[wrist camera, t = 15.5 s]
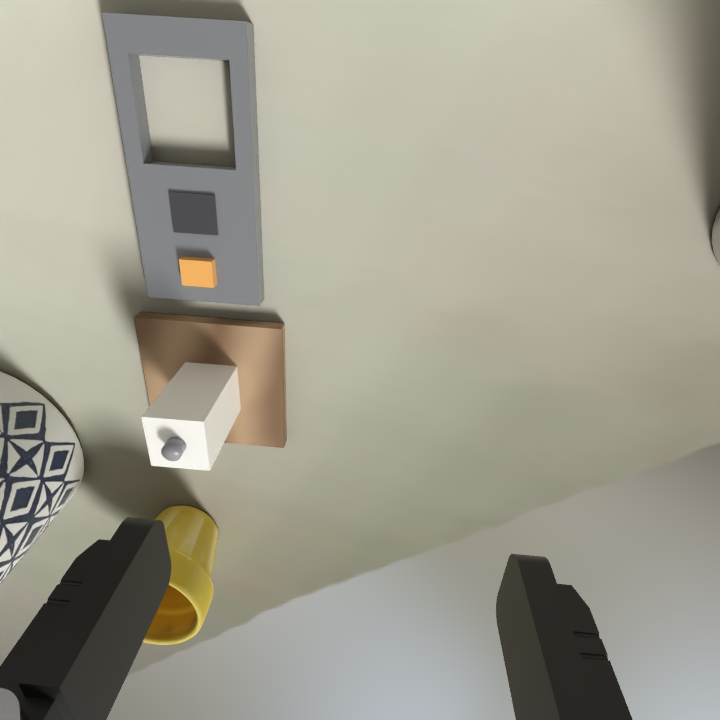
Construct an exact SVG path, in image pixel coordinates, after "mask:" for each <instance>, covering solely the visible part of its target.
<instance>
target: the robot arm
mask: <svg viewBox="0 0 720 720" xmlns="http://www.w3.org/2000/svg"><path fill="white" fill-rule="evenodd" d="M712 246H713V251H714V255H715V257H716V259H717V261H718V263H719V264H720V209H719V211H718V213H717V215H716V218H715V222H714V225H713V230H712ZM170 576H171V559H170V553H169V548H168V543H167V538H166V533H165V527H164V524H163V522H162V521H161V520H153V519H143V518H132V517H128V518H126V519H125V520H124V521H123V522H122V523H121V525H120V526H119V528H118V529H117V531H116V532H115V534H114V535H113V537H112V538H111V540H98V541H96V542H95V543H94V544H93V545H91V546H90V547H89V548H88V549H86V550H85V551H84V552H83V553H82V554H80V555H79V556H78V557H77V558H76V559H75V560H74V562H73V563H72V565H71V566H70V568H69V569H68V570H67V572H66V573H65V575H64V576H63V578H62V579H61V583H60V584H59V585H57V586H56V588H55V589H54V590H53V592H52V593H51V595H50V596H49V598H48V601H47V603H46V604H45V603H44V605H43V606H42V608H41V609H40V610H39V612H38V613H37V615H36V616H35V618H34V619H33V620H32V622H31V623H30V625H29V626H28V628H27V629H26V630H25V632H24V633H23V635H22V636H21V638H20V639H19V640H18V642H17V643H16V645H15V646H14V648H13V649H12V650H11V652H10V653H9V655H8V656H7V658H6V659H5V660H4V662H3V663H2V665H1V666H0V720H106V719H107V717H108V715H109V713H110V711H111V708H112V706H113V704H114V702H115V700H116V698H117V696H118V693H119V691H120V689H121V687H122V684H123V683H124V681H125V678H126V676H127V674H128V672H129V670H130V668H131V666H132V664H133V661H134V659H135V657H136V655H137V653H138V651H139V649H140V646H141V644H142V642H143V640H144V638H145V636H146V634H147V631H148V629H149V627H150V625H151V623H152V621H153V619H154V617H155V614H156V612H157V610H158V608H159V606H160V604H161V602H162V599H163V597H164V595H165V593H166V591H167V588H168V585H169V581H170ZM496 617H497V625H498V631H499V635H500V641H501V645H502V651H503V656H504V661H505V666H506V671H507V676H508V682H509V687H510V692H511V697H512V702H513V707H514V712H515V716H516V720H632V717H631V715H630V712H629V710H628V707H627V704H626V702H625V699H624V696H623V694H622V691H621V689H620V686H619V684H618V681H617V678H616V676H615V673H614V671H613V668H612V665H611V663H610V661H608V658H607V652H606V650H605V647H604V645H603V642H602V640H601V639H600V638H599V632H598V629H597V627H596V624H595V621H594V619H593V616H592V614H591V611H590V608H589V607H588V606H587V604H586V603H585V602H584V601H583V599H582V598H581V597H580V596H579V594H578V593H577V592H576V590H575V589H574V588H573V587H572V585H563V584H557V583H556V580H555V577H554V574H553V571H552V568H551V565H550V563H549V561H548V559H547V558H545V557H540V556H529V555H518V554H511V555H510V557H509V559H508V562H507V566H506V569H505V573H504V576H503V579H502V582H501V586H500V589H499V592H498V596H497V603H496Z"/></svg>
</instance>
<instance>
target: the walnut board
mask: <svg viewBox="0 0 720 720" xmlns="http://www.w3.org/2000/svg"><path fill="white" fill-rule="evenodd" d="M134 320H135V325H136V331H137V337H138V342H139V348H140V353H141V359H142V364H143V370H144V375H145V381H146V386H147V392H148V397H149V403H150V406H151V404H152V403H153V402H154V401H155V399H156V398H157V397H158V396H159V394H160V393H161V392H162V391H163V389H164V388H165V387H166V386H167V385H168V383H169V382H170V381H171V380H172V378H173V377H174V376H175V375H176V373H177V372H178V371H179V370H180V368H181V367H182V366H183V365H184V363H185V362H190V363H203V364H216V365H229V366H237V370H238V383H239V395H240V407H241V410H240V412H239V414H238V416H237V418H236V420H235V422H234V424H233V426H232V428H231V430H230V432H229V434H228V436H227V438H226V440H225V442H224V443H235V444H246V445H258V446H269V447H280V448H284V446H285V443H286V440H287V437H286V384H285V331H284V323H274V322H262V321H249V320H237V319H224V318H212V317H199V316H187V315H174V314H161V313H149V312H140V313H139V314H138V315H137V316H135V317H134Z"/></svg>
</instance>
